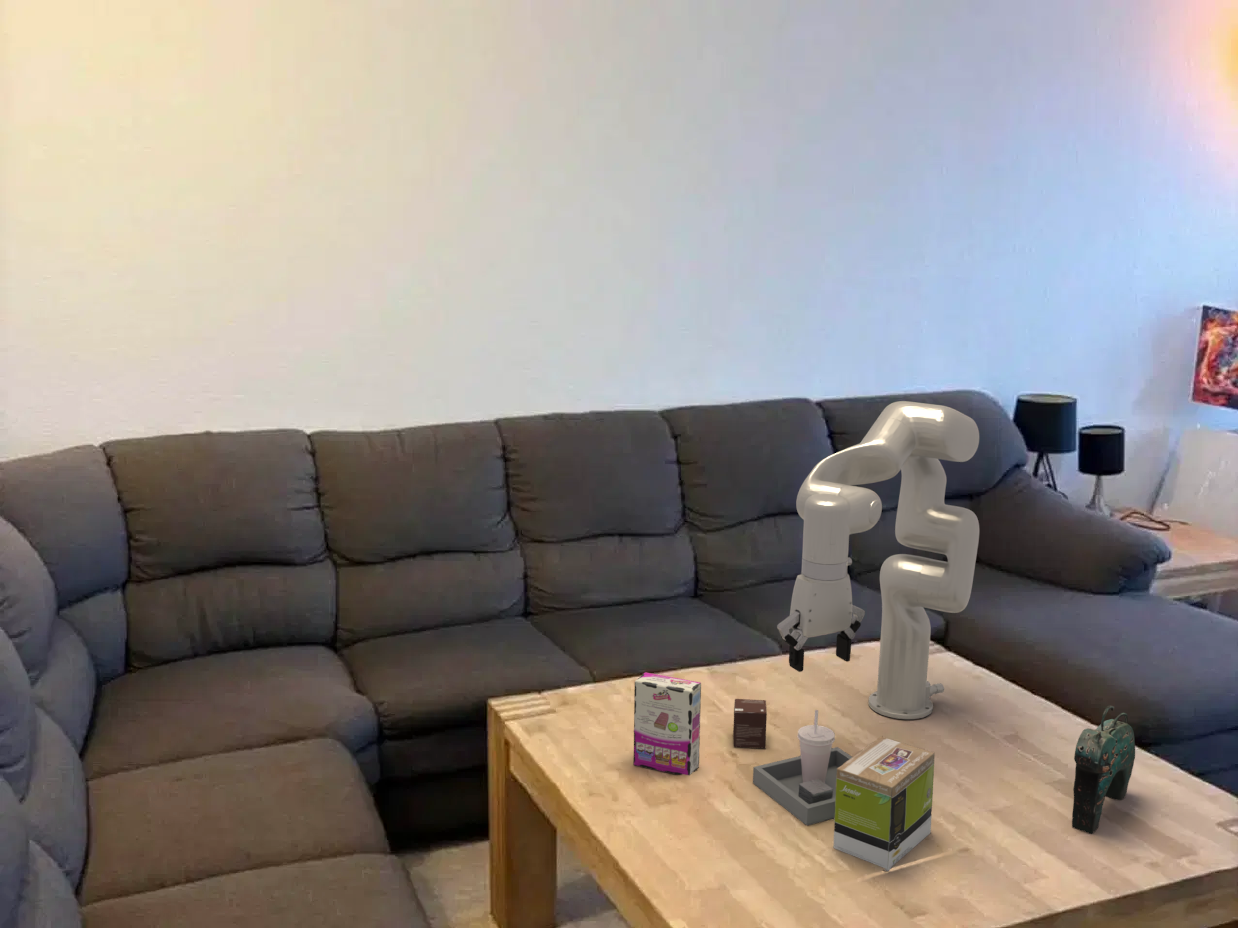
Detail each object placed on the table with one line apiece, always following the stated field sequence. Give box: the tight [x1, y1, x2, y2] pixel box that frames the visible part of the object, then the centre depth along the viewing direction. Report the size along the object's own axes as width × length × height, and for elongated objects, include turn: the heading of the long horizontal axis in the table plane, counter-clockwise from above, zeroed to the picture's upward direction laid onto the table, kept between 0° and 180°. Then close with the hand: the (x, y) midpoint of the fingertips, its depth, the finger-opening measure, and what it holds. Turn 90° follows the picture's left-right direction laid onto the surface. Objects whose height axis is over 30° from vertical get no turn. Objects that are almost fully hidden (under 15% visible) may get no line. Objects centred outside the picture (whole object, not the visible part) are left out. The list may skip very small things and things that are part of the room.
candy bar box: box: [632, 671, 702, 776], centre depth 222 cm, size 11×5×16 cm, turn 65°
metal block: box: [798, 779, 833, 804], centre depth 208 cm, size 4×4×4 cm
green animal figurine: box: [1071, 705, 1136, 835], centre depth 208 cm, size 20×6×20 cm, turn 139°
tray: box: [752, 746, 853, 826], centre depth 214 cm, size 18×16×4 cm
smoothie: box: [796, 709, 836, 783], centre depth 215 cm, size 6×6×14 cm
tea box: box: [832, 735, 936, 872], centre depth 198 cm, size 15×10×15 cm
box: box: [732, 698, 768, 750], centre depth 233 cm, size 6×6×7 cm
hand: (819, 663), depth 212 cm, fingers open, 9 cm apart
